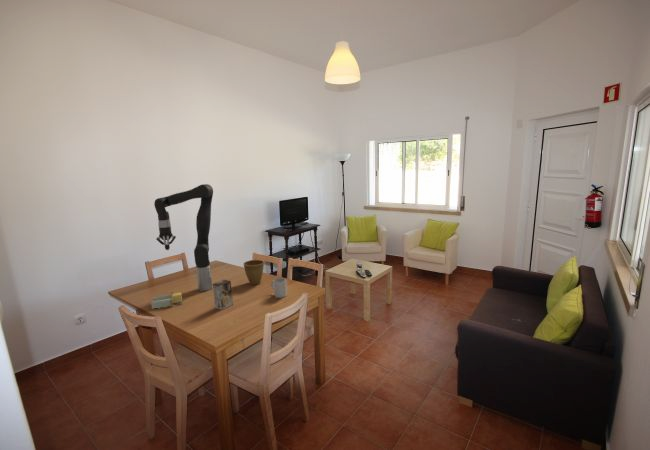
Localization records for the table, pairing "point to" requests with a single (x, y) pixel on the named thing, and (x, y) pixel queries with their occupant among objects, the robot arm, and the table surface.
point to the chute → (163, 301)
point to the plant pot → (254, 271)
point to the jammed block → (177, 297)
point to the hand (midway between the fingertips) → (167, 249)
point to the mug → (279, 287)
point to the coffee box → (222, 294)
